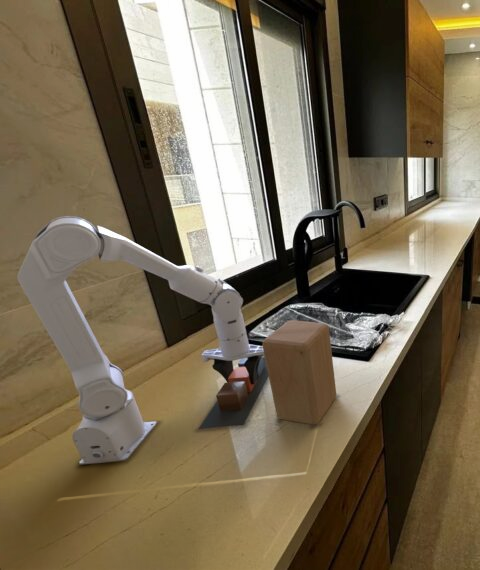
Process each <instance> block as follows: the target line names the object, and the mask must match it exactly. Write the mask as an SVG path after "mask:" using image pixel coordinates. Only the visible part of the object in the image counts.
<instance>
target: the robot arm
mask: <svg viewBox="0 0 480 570" xmlns="http://www.w3.org/2000/svg"><path fill="white" fill-rule="evenodd" d="M96 227H97V228H96ZM96 227H95V225H94V224H92V223H91V222H90V221H88V220H86V219H85V218H82V217H79V216H72V215H66V216H59V217H56V218H54V219H52V220H50V221H49V222H48V223H47V224H46V225H44V226H43V227H42V228H41V229H39V231H38V232H37V233H36V234H35V236H34V238H33V240H32V242H31V244H30V246H29V248H28V251H27V253H26V256H25V258H24V260H23V262H22V264H21V267H20V268H19V270H18V273H17V276H16V277H17V281H18V283H19V285H20V287H21V289H22V291H23V292H24V294H25V296H26V297H27V299H28V301H29V302H30V304H31V306H32V308H33V309H34V311H35V313H36V314H37V316H38V318H39V319H40V322H41V323H42V325H43V327H44V328H45V330H46V332H47V334H48V335H49V337H50V338H51V341H52V342H53V343H54V345H55V347H56V349H57V350H58V352H59V354H60V356H61V357H62V359H63V361H64V362H65V364H66V367H68V370H69V371H70V374H71V376H72V380H73V383H74V386H75V390H76V391H77V393H78V397H79V398H78V403H77V405H78V406H77V408H78V411H79V412H80V413H81V415H82V419H81V422H80V424H79V425H78V426H77V428H76V429H75V431H73V433H72V438H71V439H72V442H73V443H74V445H75V448H76V450H77V451H78V454H79V455H80V457H81V460H79V465H90V464H102V463H112V462H123V461H126V460H127V459H129V458H130V457H131V455H132V454H133V453H134V451H135V450H136V449H137V448H138V447H139V446H140V445H141V444H142V442H143V441H144V440H145V438H147V436H148V435H149V434H150V432H152V430H153V429H154V428H155V427H156V426H157V424H158V422H157V421H144V420H143V416H142V414H141V412H140V409H139V407H138V405H137V402H136V398H135V396H134V394H133V392H132V390H128V389H126V387H125V382H124V372H123V371H122V369H121V368H120V367H118V366H117V365H114V364H113V363H112V362H111V361H110V360H109V358H108V356H107V355H106V354H105V353H104V351H103V350H102V348H101V345H100V344H99V342H98V340H97V338H96V336H95V334H94V333H93V331H92V327H90V325H89V323H88V320H87V319H86V317H85V314H84V313H83V310H82V309H81V307H80V305H79V303H78V301H77V299H76V298H75V296H74V294H73V292H72V290H71V288H70V286H69V283H68V282H67V279H68V278H69V277H70V276H71V275H72V273H73V272H74V271H75V270H76V268H78V267H80V266H82V265H84V264H85V263H87V262H90V261H91V260H92V259H94V258H95V257H96V256H98V259H99V262H110V261H111V262H112V261H123V262H126V263H128V264H130V265H132V266H135V267H137V268H139V269H141V270H144V271H146V272H148V273H151V274H154V275H156V276H157V277H160V278H162V279H165V280H167V281H168V286H169V288H170V290H172V291H174V292H176V293H179V294H181V295H183V296H185V297H187V298H189V299H192V300H194V301H195V302H198V303H200V304H205V305H209V306H211V313H212V316H213V319H212V320H213V324H214V328H215V332H216V335H217V341H218V344H219V347H217V348H214V349H205V350H204V351H203V352H202V353H201V355H200V356H201V359H202V362H203V363H206V362H209V361H213V364H212V366H211V367H212V369H213V370H215V371H216V372H217V373H219V374H220V376H222V377H223V379H224V380H225V381H226V383H229V382H228V377H229V376H230V375H231V373H232V372H233V370H234V369H235V368H234V363H233V361H237V360H238V361H239V360H241V359H243V358H248V359H247V360H246V362H245V363H244V366H245V368H246V369H247V371H248V374H249V378H250V382H251V384H255V383H256V381H257V372H258V366H259V362H260V359H261V357H264V358H265V356H264V351H263V346H262V345H255V344H250V343H249V339H248V334H247V329H246V326H245V325H246V324H245V321H244V316H243V315H244V314H243V313H242V309H241V308H242V306H243V303H244V299H243V297H242V296H241V295H240V292H238V291H237V290H236V289H235V288H234V287H232V286H231V285H230V284H228V282H226V281H225V280H223V279H221V278H218V279H217V278H215V277H213V276H211V275H209V274H208V273H205V272H204V270H205V269H204V268H203V267H201V266H199V265H195V266H193V265H190V264H184V265H176V264H174V263H173V262H170V261H169V260H168V259H165V258H164V257H162V256H160V255H158V254H156V253H154V252H152V251H151V250H149V249H147V248H145V247H143V246H141V245H140V244H138V243H136V242H134V241H132V239H130V238H127V237H125V236H123V235H122V234H118V233H116V232H114V231H112V230H110V229H108V228H105V227H104V226H100V225H96Z"/></svg>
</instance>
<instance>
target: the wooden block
mask: <svg viewBox="0 0 480 570" xmlns="http://www.w3.org/2000/svg"><path fill="white" fill-rule="evenodd" d="M261 346H263V351H264V356H265V361H266V365H267V370H268V375H269V377H268V381H269V385H270V389H271V395H272V400H273V405H274V409H275V415H276V417H277V418H278V419H279V420H282V421H283V420H284V421H288V422H295V423H301V424H307V425H311V426H315V425H318V424H319V423H320V421H321V420H322V419H323V417H324V415H325V414H326V413H327V411H328V410H329V408H330V406H331V405H332V404H333V402H334V400H335V399H336V397H337V386H336V378H335V369H334V362H333V361H334V360H333V353H332V352H333V351H332V343H331V334H330V327H329V325H328V324H327V323H325V322H324V323H323V322H315V321H314V322H313V321H305V320H296V319H290V320H287V321H286V322H285V323H282V325H280V326H279V327H278V328H277V329H275V330H274V331H273V332H272V333H270V334H269V335H268V336H266V338H264V339H263V341H262V345H261Z"/></svg>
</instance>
